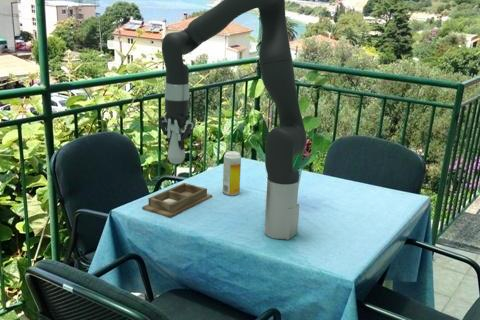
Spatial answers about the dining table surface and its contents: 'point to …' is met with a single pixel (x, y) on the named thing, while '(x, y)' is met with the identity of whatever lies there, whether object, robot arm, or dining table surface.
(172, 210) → the slot caddy
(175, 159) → the salt shaker
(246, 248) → the dining table surface
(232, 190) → the white yellow canister
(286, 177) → the robot arm
